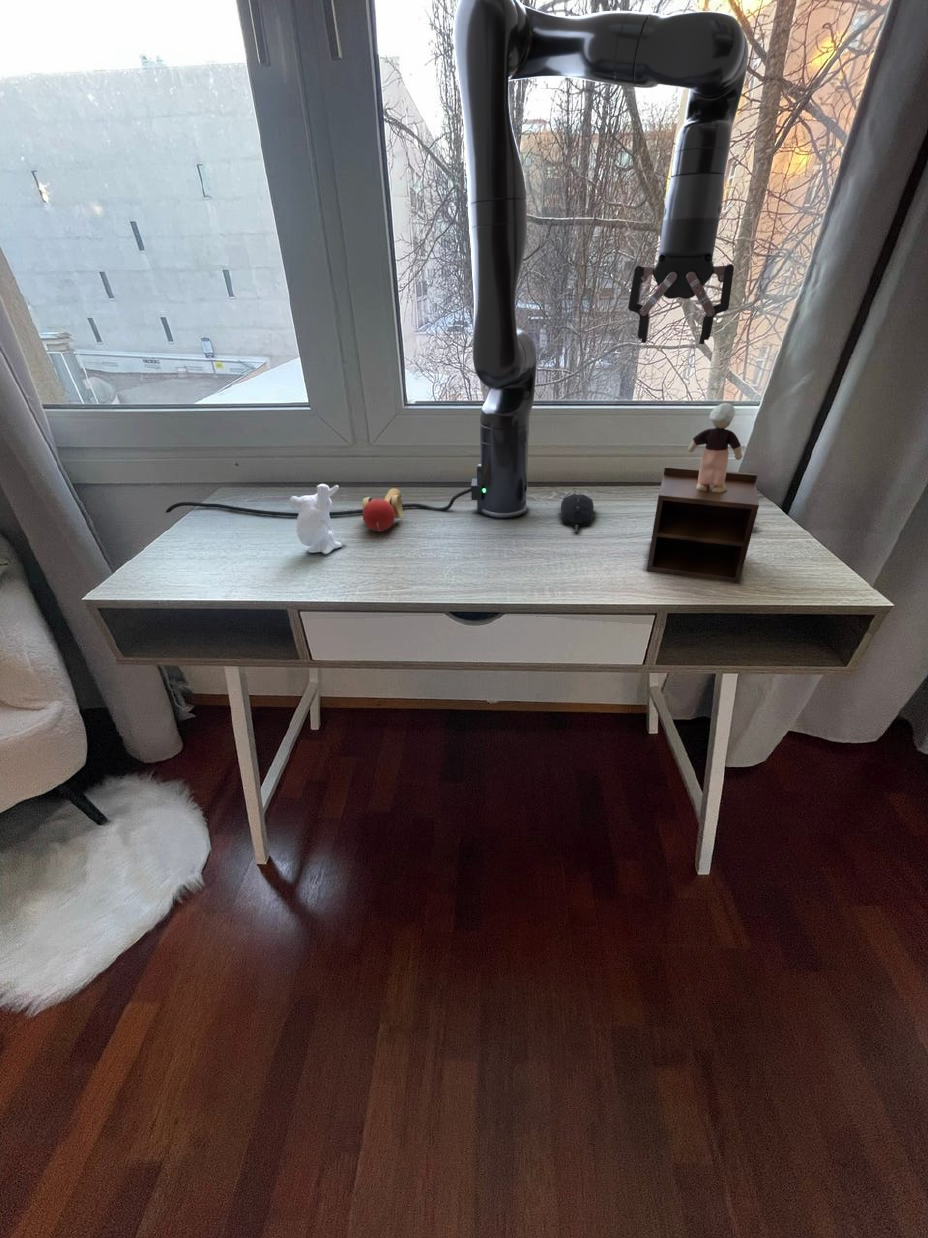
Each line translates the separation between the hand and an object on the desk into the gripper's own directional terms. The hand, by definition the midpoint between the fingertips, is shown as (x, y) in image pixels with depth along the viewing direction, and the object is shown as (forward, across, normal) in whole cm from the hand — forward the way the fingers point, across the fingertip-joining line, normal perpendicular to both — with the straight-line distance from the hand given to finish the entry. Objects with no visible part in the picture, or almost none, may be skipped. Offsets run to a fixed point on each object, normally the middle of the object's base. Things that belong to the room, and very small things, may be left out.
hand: (672, 342), depth 91 cm
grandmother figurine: (+20, -9, +9) cm, 23 cm away
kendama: (+32, +49, +7) cm, 59 cm away
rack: (+32, -9, +9) cm, 35 cm away
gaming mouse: (+32, +13, -4) cm, 35 cm away
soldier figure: (+32, -16, -10) cm, 37 cm away
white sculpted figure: (+32, +53, +24) cm, 67 cm away
